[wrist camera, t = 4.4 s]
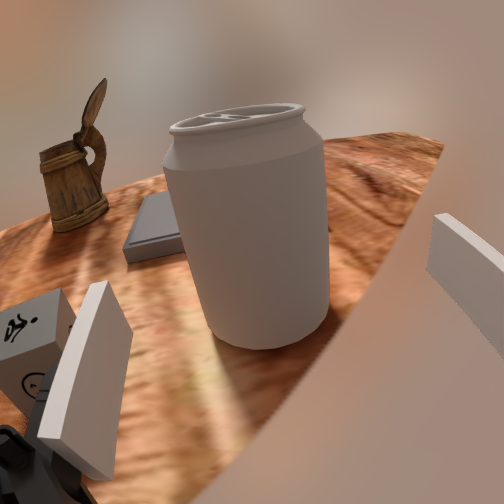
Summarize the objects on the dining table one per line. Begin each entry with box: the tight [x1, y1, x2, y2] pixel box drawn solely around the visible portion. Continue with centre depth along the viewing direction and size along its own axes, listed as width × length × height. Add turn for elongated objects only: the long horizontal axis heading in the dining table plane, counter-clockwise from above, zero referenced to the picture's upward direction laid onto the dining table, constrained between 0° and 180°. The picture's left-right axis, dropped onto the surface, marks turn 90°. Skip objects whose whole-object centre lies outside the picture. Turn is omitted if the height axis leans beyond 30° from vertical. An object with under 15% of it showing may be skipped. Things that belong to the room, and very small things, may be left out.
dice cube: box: [0, 287, 77, 419], centre depth 15 cm, size 5×5×5 cm
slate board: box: [122, 191, 185, 263], centre depth 34 cm, size 18×14×2 cm
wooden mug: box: [39, 78, 109, 232], centre depth 37 cm, size 9×14×18 cm, turn 101°
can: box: [162, 104, 330, 350], centre depth 17 cm, size 8×8×12 cm
